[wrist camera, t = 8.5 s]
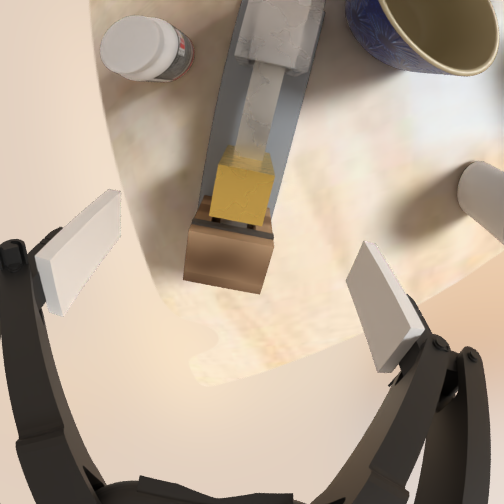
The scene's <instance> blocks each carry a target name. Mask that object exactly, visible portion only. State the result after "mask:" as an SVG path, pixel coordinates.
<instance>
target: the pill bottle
mask: <svg viewBox="0 0 504 504" xmlns="http://www.w3.org/2000/svg"><path fill="white" fill-rule="evenodd" d="M194 55H195V51H194V46H193V44H192V42H191V40H190V39H189V38H188V37H187V36H186V35H185V34H183V33H182V32H181V31H179V30H178V29H177V28H175V27H174V26H172V25H171V24H170V23H168V22H167V21H164V20H162V19H159V18H154V17H145V16H141V15H132V16H127V17H124V18H122V19H120V20H118V21H117V22H115V23H114V24H113V25H112V26H111V27H110V28H109V29H108V30H107V32H106V33H105V35H104V37H103V39H102V42H101V45H100V56H101V59H102V62H103V63H104V65H105V66H106V67H107V68H108V69H109V70H111V71H113V72H115V73H119V74H120V75H121V76H123V77H124V78H127V79H129V80H133V81H146V82H170V81H174V80H176V79H178V78H180V77H181V76H183V75H184V74H185V73H186V72H187V71H188V70H189V68H190V67H191V65H192V63H193V60H194Z"/></svg>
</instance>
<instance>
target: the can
mask: <svg viewBox="0 0 504 504" xmlns="http://www.w3.org/2000/svg"><path fill="white" fill-rule="evenodd" d="M457 196H458V202H459V205H460V207H461V209H462V210H463V211H464V212H465V213H466V214H468V215H469V216H470V217H472V218H473V219H474V220H475V221H476V222H478V223H479V224H480V225H481V226H483V227H484V228H485V229H486V230H487V231H488V232H490V233H491V234H492V235H493V236H494V237H495V238H497V239H498V240H499V241H500V242H501V243H502V244H503V245H504V172H503V171H501V170H499V169H497V168H495V167H493V166H491V165H489V164H487V163H485V162H483V161H476V162H474V163H472V164H470V165H469V166H468V167H467V168H466V169H465V170H464V172H463V174H462V176H461V178H460V181H459V184H458V192H457Z"/></svg>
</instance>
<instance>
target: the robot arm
mask: <svg viewBox="0 0 504 504" xmlns="http://www.w3.org/2000/svg"><path fill="white" fill-rule="evenodd" d="M120 221H121V191H117V190H111V189H108V190H107V191H106V192H104V193H103V194H102V195H101V196H99V197H98V198H97V199H96V200H95V201H93V202H92V203H91V204H90V205H89V206H88V207H87V208H85V209H84V210H83V211H82V212H81V213H79V214H78V215H77V216H76V217H75V218H74V219H73V220H72V221H70V222H69V223H68V224H67V225H66V226H65V227H64V228H62V227H59V228H58V229H55V230H53V231H51V232H50V233H49V234H48V235H47V236H46V237H45V239H43V240H42V241H41V242H40V243H39V244H37V245H36V246H35V247H34V248H33V249H32V250H31V251H30V252H29V253H28V254H27V251H26V247H25V243H24V241H22V240H19V239H11V240H8V241H5V242H3V243H2V244H1V245H0V338H1V337H2V348H3V358H4V366H5V373H6V379H7V385H8V391H9V396H10V400H11V405H12V410H13V415H14V419H15V423H16V426H17V430H18V434H19V439H18V440H17V441H16V451H17V455H18V458H19V461H20V464H21V467H22V469H23V472H24V475H25V478H26V480H27V483H28V486H29V488H30V490H31V492H32V495H33V498H34V500H35V502H36V504H305V503H303V502H300V501H297V500H293V493H289V494H288V493H285V494H276V493H275V494H274V493H270V494H269V493H254V494H249V495H243V496H236V497H228V498H213V497H210V496H207V495H204V494H202V493H199V492H196V491H193V490H191V489H189V488H186V487H184V486H182V485H179V484H176V483H170V482H166V481H161V480H157V479H153V478H149V477H144V476H140V477H139V481H123V482H117V483H113V484H110V485H106V483H105V481H104V479H103V478H102V476H101V474H100V472H99V471H98V469H97V468H96V466H95V464H94V463H93V461H92V460H91V458H90V456H89V454H88V452H87V449H86V447H85V446H84V443H83V441H82V438H81V436H80V434H79V431H78V429H77V427H76V424H75V422H74V419H73V417H72V414H71V411H70V409H69V406H68V403H67V400H66V398H65V395H64V392H63V389H62V386H61V383H60V379H59V376H58V373H57V369H56V366H55V362H54V359H53V355H52V351H51V347H50V343H49V339H48V334H47V330H46V325H45V321H44V315H43V312H42V308H41V307H42V306H43V304H44V303H45V302H46V303H47V307H48V310H49V312H50V313H53V314H56V315H59V316H62V317H64V315H65V314H66V312H67V311H68V309H69V308H70V306H71V305H72V303H73V302H74V300H75V299H76V297H77V295H78V294H79V293H80V291H81V290H82V288H83V287H84V285H85V284H86V283H87V281H88V280H89V278H90V277H91V276H92V274H93V273H94V271H95V270H96V269H97V267H98V265H100V263H101V262H102V260H103V259H104V257H105V256H106V255H107V254H108V252H109V251H110V250H111V249H112V247H113V246H114V245H115V243H116V242H117V241H118V239H119V238H120V236H121V230H120V229H121V224H120V223H121V222H120ZM346 283H347V286H348V288H349V291H350V294H351V296H352V299H353V302H354V305H355V307H356V310H357V313H358V316H359V318H360V321H361V324H362V327H363V330H364V333H365V336H366V339H367V342H368V345H369V348H370V351H371V354H372V357H373V360H374V363H375V366H376V370H377V372H378V373H379V372H380V373H391V372H392V371H393V370H394V369H395V368H396V366H397V365H398V364H399V366H400V368H401V371H400V372H399V374H398V375H397V376H396V377H395V378H394V379H393V381H392V382H391V383H390V384H389V385H388V386H389V387H390V386H391V385H392V386H391V388H390V390H389V392H388V394H387V396H386V398H385V399H384V401H383V403H382V405H381V407H380V409H379V410H378V412H377V414H376V416H375V417H374V419H373V421H372V423H371V424H370V426H369V428H368V429H367V431H366V432H365V434H364V436H363V437H362V439H361V441H360V442H359V444H358V445H357V447H356V448H355V450H354V451H353V453H352V454H351V456H350V457H349V459H348V460H347V462H346V463H345V465H344V466H343V467H342V469H341V470H340V472H339V473H338V474H337V476H336V477H335V478H334V480H333V481H332V482H331V484H330V485H329V486H328V488H327V489H326V490H325V491H324V492H323V493H322V494H320V495H319V496H318V497H317V498H316V499H315V500H314V501H312V502H311V504H406V503H407V501H408V498H409V492H408V491H407V490H406V489H405V485H406V483H407V481H408V479H409V476H410V474H411V472H412V470H413V468H414V466H415V463H416V461H417V459H418V456H419V454H420V451H421V449H422V446H423V444H424V441H425V439H426V443H425V450H424V456H423V463H422V468H421V473H420V479H419V484H418V489H417V493H416V497H415V501H414V504H488V496H489V485H490V465H491V464H490V463H491V442H490V441H491V440H490V419H489V407H488V397H487V389H486V381H485V375H484V368H483V362H482V359H481V357H480V355H479V353H478V352H477V351H476V350H475V349H473V348H471V347H468V346H467V347H464V348H463V350H462V351H461V352H460V353H456V352H454V351H451V350H450V347H449V344H448V343H447V342H446V340H444V339H443V338H442V337H441V336H438V335H436V334H432V332H431V330H430V328H429V327H428V325H427V323H426V321H425V319H424V317H423V316H422V314H421V312H420V310H419V309H418V306H417V305H416V303H415V301H414V300H413V299H412V298H411V297H410V296H409V295H408V294H406V293H405V291H404V289H403V288H402V286H401V284H400V283H399V281H398V279H397V278H396V276H395V274H394V272H393V271H392V269H391V268H390V266H389V264H388V263H387V261H386V259H385V258H384V256H383V255H382V253H381V251H380V250H379V248H378V247H377V245H376V244H375V243H371V242H367V241H363V244H362V246H361V248H360V250H359V253H358V255H357V257H356V259H355V262H354V264H353V266H352V268H351V270H350V273H349V275H348V277H347V279H346ZM457 391H458V393H457V395H456V397H455V393H456V392H457Z"/></svg>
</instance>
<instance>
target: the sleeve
mask: <svg viewBox="0 0 504 504" xmlns="http://www.w3.org/2000/svg"><path fill="white" fill-rule="evenodd" d="M325 1H326V0H249V1H248V5H247V8H246V12H245V15H244V19H243V23H242V27H241V30H240V34H239V38H238V42H237V46H236V50H235V54H234V56H235V58H236V60H237V62H238V64H239V65H243V66H248V67H254V63H255V61H259V62H263V63H268V64H272V65H277V66H281V67H285V72H284V74H285V75H289V76H293V77H296V76H299V75H301V74H304V73H306V72H308V69H309V65H310V61H311V57H312V53H313V49H314V45H315V41H316V37H317V33H318V29H319V25H320V21H321V17H322V13H323V9H324V5H325Z"/></svg>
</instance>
